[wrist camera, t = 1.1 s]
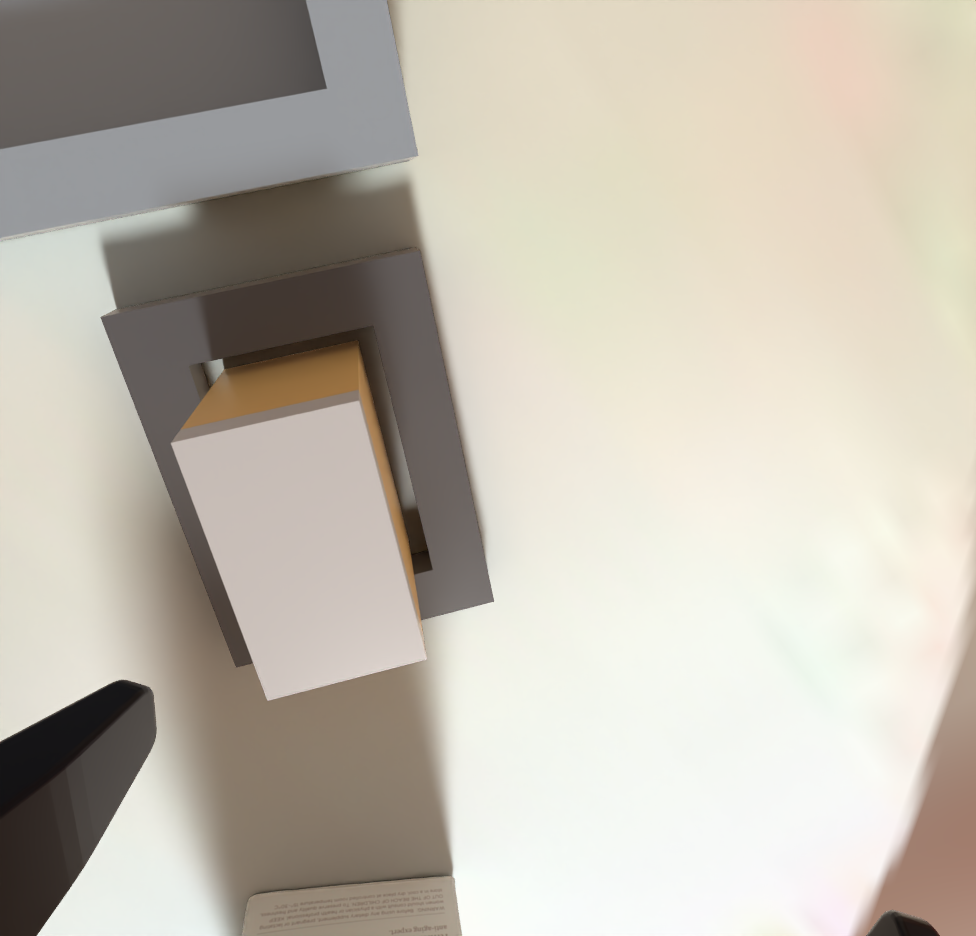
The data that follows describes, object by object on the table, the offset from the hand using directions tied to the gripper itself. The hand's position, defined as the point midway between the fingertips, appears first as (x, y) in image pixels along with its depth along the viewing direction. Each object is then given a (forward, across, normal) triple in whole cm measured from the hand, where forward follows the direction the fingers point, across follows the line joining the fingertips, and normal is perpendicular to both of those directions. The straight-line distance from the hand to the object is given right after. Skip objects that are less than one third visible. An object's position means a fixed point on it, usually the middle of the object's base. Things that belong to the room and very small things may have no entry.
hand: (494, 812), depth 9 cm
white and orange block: (+11, +7, +3) cm, 13 cm away
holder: (+11, +7, +3) cm, 13 cm away
